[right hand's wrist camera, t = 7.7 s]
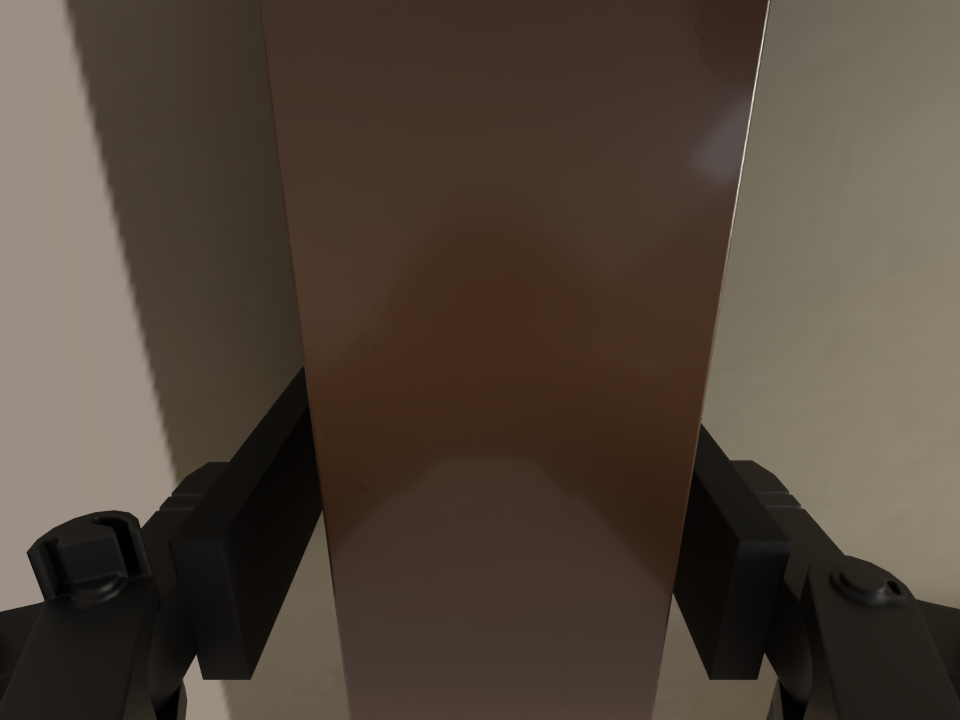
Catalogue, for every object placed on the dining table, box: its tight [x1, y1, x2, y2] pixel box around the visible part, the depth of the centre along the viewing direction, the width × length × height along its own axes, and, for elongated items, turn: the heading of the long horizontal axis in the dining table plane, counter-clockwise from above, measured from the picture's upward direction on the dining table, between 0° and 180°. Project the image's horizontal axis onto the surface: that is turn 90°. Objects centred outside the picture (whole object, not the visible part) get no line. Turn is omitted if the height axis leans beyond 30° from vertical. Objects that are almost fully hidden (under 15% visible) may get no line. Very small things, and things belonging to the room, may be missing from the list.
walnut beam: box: [257, 0, 771, 720], centre depth 8 cm, size 22×4×7 cm, turn 0°
